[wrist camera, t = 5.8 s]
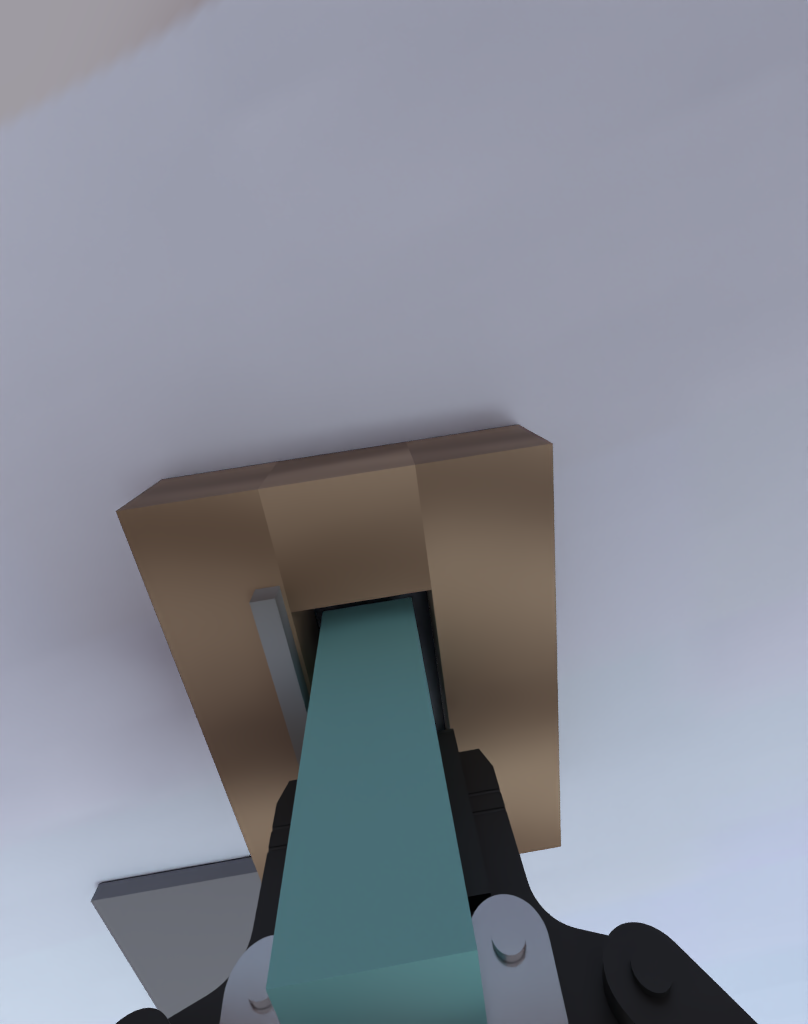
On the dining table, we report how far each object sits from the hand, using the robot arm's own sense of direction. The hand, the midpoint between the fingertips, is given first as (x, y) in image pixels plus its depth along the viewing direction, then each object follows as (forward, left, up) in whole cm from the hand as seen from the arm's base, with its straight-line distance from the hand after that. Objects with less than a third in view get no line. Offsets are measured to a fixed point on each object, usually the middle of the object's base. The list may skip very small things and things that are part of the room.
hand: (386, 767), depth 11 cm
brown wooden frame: (0, 0, -4) cm, 4 cm away
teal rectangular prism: (0, 0, -3) cm, 3 cm away
